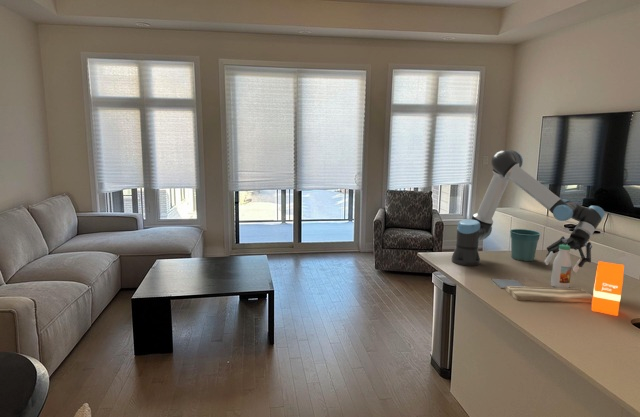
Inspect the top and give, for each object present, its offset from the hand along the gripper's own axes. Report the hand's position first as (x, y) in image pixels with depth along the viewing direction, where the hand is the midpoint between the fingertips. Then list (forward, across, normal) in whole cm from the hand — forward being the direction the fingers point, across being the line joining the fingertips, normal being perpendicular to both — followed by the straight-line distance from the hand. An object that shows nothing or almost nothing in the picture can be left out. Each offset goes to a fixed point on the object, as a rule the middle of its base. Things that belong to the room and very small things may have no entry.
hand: (559, 267), depth 197 cm
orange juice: (+14, -26, 0) cm, 29 cm away
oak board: (+18, -6, +4) cm, 19 cm away
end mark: (+20, +12, +6) cm, 24 cm away
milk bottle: (+5, 0, -9) cm, 10 cm away
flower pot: (-14, +40, -28) cm, 50 cm away
